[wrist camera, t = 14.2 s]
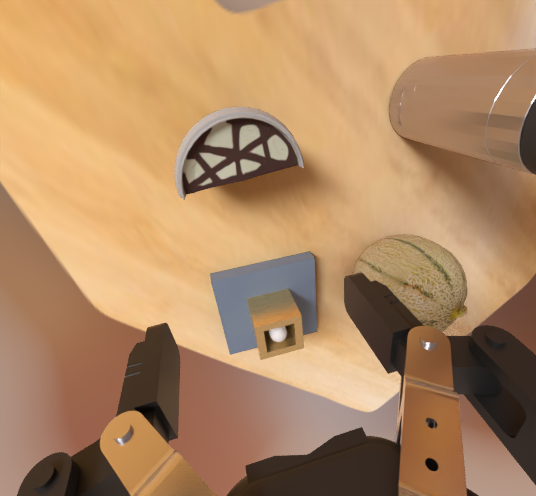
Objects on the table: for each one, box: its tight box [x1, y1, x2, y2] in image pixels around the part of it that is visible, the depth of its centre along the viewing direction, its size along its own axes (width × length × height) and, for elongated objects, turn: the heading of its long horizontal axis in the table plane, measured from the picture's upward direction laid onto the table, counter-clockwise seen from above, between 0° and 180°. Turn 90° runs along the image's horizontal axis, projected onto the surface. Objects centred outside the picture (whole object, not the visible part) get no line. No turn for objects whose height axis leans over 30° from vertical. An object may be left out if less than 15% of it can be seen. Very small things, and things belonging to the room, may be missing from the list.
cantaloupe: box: [352, 235, 467, 332], centre depth 42 cm, size 15×15×15 cm
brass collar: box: [247, 289, 304, 360], centre depth 43 cm, size 6×6×6 cm
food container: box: [175, 107, 304, 200], centre depth 29 cm, size 12×6×10 cm, turn 101°
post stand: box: [210, 252, 317, 355], centre depth 44 cm, size 15×15×8 cm
